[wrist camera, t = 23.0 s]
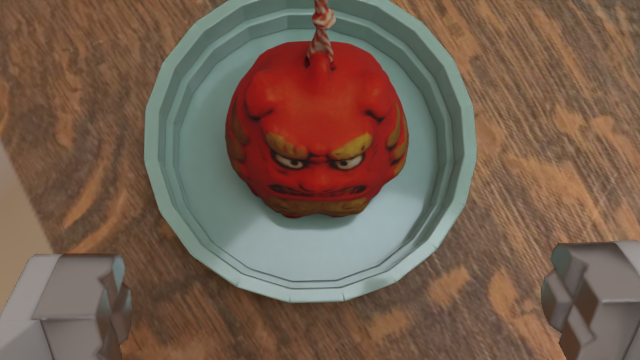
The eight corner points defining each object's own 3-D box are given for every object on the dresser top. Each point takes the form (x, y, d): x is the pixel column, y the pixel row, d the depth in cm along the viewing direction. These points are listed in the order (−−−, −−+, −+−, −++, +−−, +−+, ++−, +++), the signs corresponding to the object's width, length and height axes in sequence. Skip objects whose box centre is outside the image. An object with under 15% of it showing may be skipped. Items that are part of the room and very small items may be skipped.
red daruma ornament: (238, 230, 28) (184, 160, 13) (228, 86, 29) (169, -127, 14) (400, 217, 28) (524, 134, 14) (384, 76, 30) (481, -140, 15)
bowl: (157, 305, 27) (139, 307, 24) (164, 15, 30) (148, -21, 26) (464, 297, 28) (488, 297, 25) (444, 15, 31) (464, -20, 27)
